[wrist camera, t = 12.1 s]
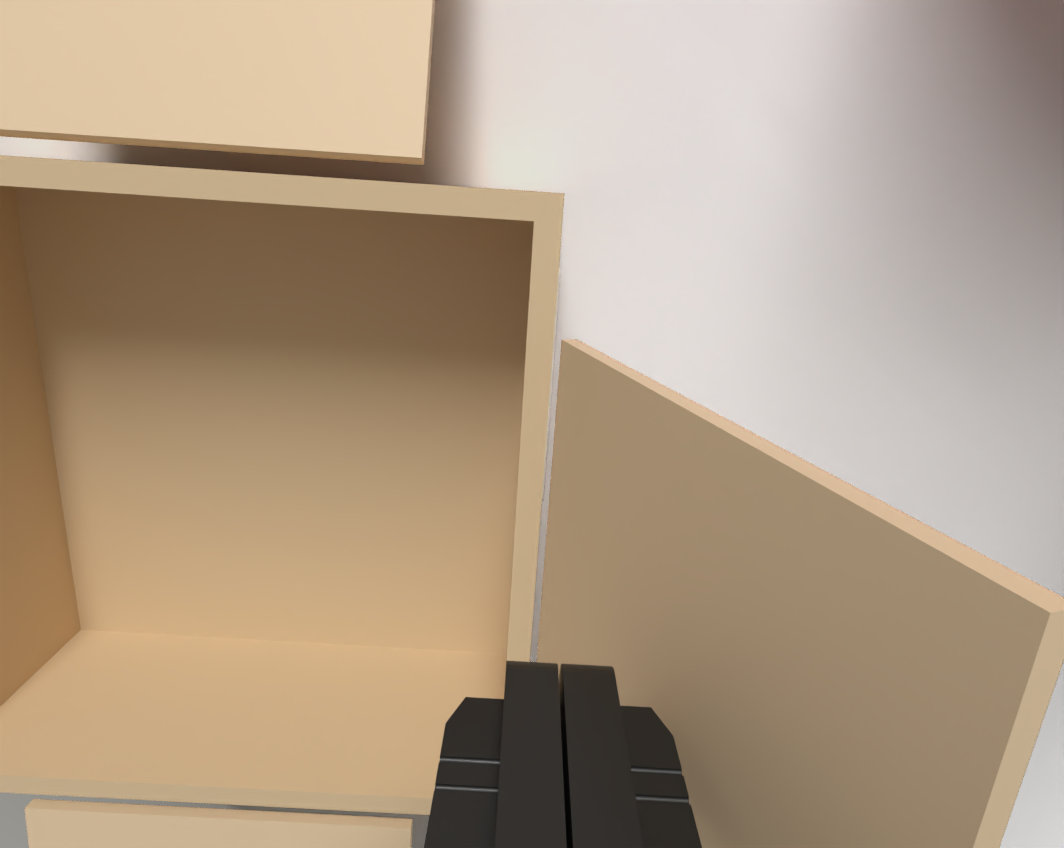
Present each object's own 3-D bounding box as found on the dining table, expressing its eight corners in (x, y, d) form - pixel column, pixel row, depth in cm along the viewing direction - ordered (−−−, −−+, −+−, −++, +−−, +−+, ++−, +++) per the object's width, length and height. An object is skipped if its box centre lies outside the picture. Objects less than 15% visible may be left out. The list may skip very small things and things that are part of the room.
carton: (-214, 618, 22) (-479, 767, 16) (-491, -317, 15) (-1125, -637, 9) (525, 660, 22) (522, 819, 17) (589, -234, 15) (622, -490, 10)
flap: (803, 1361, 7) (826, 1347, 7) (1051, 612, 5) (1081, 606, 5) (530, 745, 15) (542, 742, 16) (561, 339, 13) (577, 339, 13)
